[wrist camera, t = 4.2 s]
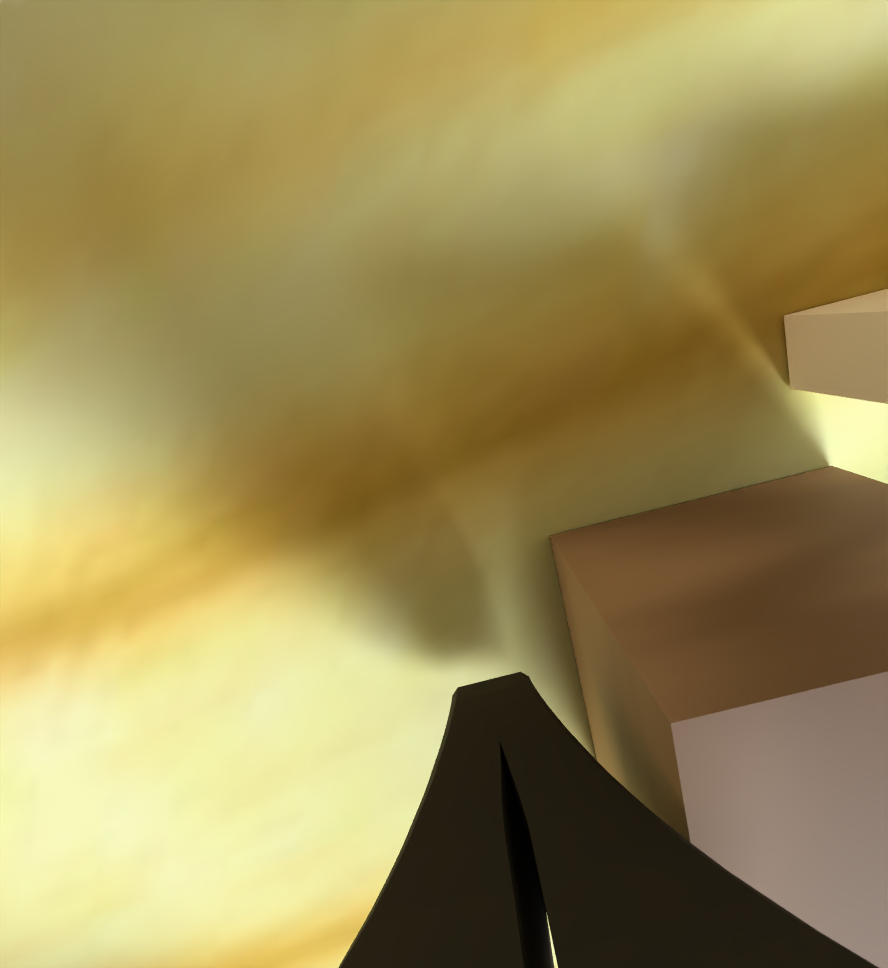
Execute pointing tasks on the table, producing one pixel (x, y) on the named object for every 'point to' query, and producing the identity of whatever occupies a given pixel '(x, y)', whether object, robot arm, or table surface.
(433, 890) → the robot arm
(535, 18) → the table surface
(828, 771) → the walnut cube
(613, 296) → the table surface
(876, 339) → the dock
